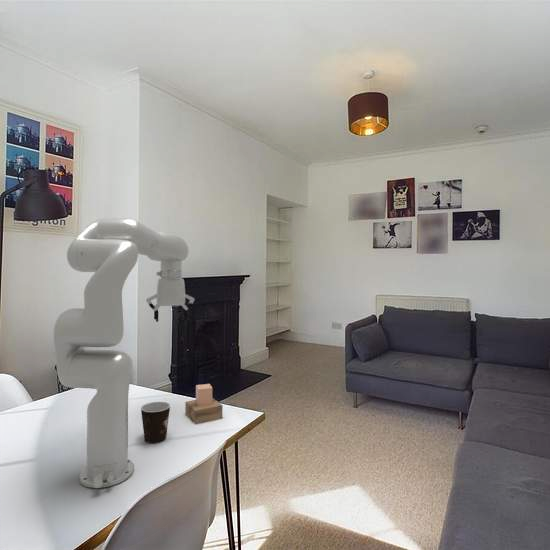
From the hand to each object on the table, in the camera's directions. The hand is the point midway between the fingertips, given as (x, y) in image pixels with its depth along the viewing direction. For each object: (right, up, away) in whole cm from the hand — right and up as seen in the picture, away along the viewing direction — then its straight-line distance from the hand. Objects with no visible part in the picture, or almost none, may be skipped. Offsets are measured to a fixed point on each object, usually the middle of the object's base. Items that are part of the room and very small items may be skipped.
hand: (170, 320), depth 137 cm
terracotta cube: (+13, -29, -5) cm, 32 cm away
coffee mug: (+1, -34, -25) cm, 42 cm away
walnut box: (+13, -34, -5) cm, 37 cm away
